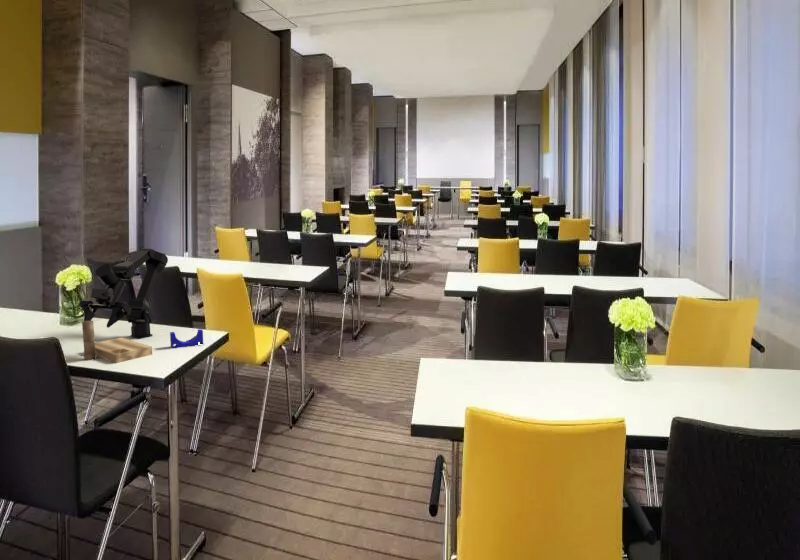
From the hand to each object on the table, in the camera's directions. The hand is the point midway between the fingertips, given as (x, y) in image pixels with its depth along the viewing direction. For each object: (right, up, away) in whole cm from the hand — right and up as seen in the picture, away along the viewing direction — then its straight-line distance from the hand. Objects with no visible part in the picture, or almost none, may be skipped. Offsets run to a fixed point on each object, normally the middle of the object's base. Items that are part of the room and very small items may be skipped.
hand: (96, 326), depth 215 cm
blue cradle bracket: (+28, -9, +17) cm, 34 cm away
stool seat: (+6, -11, +5) cm, 13 cm away
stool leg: (-1, -12, -2) cm, 12 cm away
